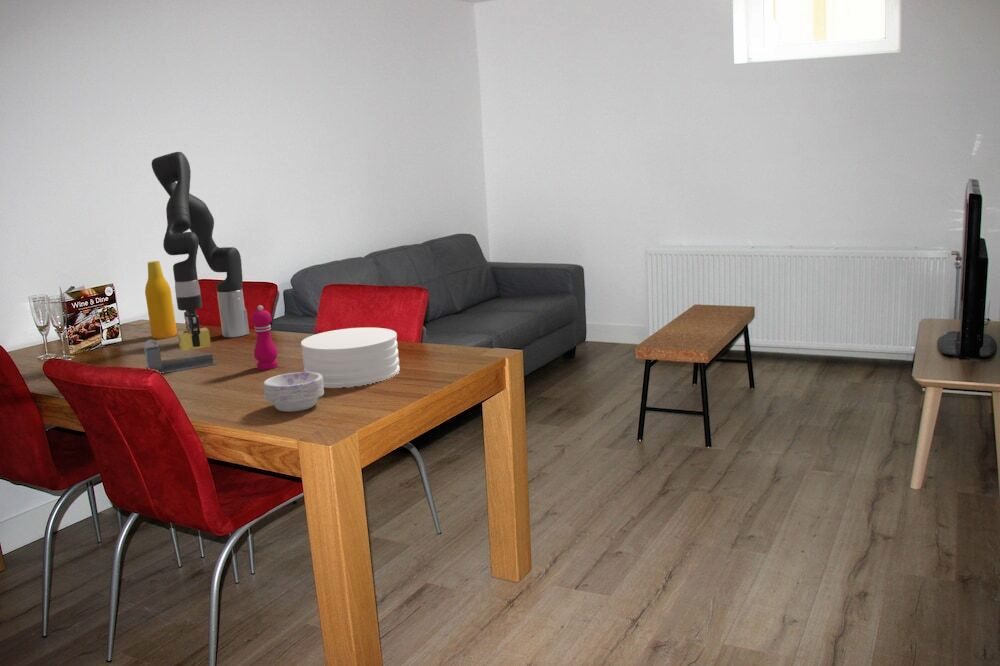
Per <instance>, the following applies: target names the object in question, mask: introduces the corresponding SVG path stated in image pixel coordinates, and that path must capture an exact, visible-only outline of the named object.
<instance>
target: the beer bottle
mask: <svg viewBox="0 0 1000 666" xmlns="http://www.w3.org/2000/svg"><path fill="white" fill-rule="evenodd" d="M144 293H145V294H144V295H145V299H146V301H145V302H146V306H147V312H148V318H149V319H148V320H149V327H150V334H151V337H152V339H154V340H156V339H158V340H159V339H169V338H173V337H175V336H176V335H177V336H178V330H177V323H176V317H175V310H174V304H173V296H172V290H171V287H170V284H169V283H168V281H167V280H166V277H165V276H164V274H163V270H162V265H161V261H159V260H151V261H147V282H146V284H145V290H144Z"/></svg>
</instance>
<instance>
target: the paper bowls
mask: <svg viewBox="0 0 1000 666" xmlns="http://www.w3.org/2000/svg"><path fill="white" fill-rule="evenodd" d="M323 386H324V385H323V377H322V375H321V374H318V373H314V372H304V371H300V372H299V371H298V372H289V373H282V374H278V375H275V376H271V377H269V378H267V379H265V380H264V381H263V391H264V398H265V399H264V400H265V401H266V402H267V403H270V404H272V405H273V406H274V408H275V409H276V410H278V411H280V412H286V413H293V412H295V413H296V412H301V411H305V410H309V409H310V408H313V407H314V406H315V405H316V404H317V402H318V400H319V398H322V397H323V395H324V394H325V389H324V387H323Z"/></svg>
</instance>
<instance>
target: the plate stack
mask: <svg viewBox="0 0 1000 666" xmlns="http://www.w3.org/2000/svg"><path fill="white" fill-rule="evenodd" d="M397 338H398V333H397V332H396V331H395V330H393V329H389V328H384V327H383V328H382V327H349V328H340V329H334V330H329V331H323V332H319V333H316V334H313V335H310V336H307V337H305V338H303V339H302V340H301V342H300V347H301V349H302V350H301V356H302V365H303V366H304V367H303V372H314V373H318V374H321V375H322V377H323V385H324V386H323V387H324V388H326V389H340V388H341V389H342V387H346V388H355V387H354V386H357V387H363V386H362V385H364V386H368V385H367V384H369V385H373V384H372V383H374V384H376V383H375V382H378V383H380V382H379V381H382V382H384V381H383V380H385V381H387V380H386V379H388V380H390V379H392V378H394V377H396V376H397V375H399V374H400V372H401V369H400V368H401V366H400V358H399V349H398V340H397ZM399 371H400V372H399ZM396 374H397V375H396ZM395 375H396V376H395ZM393 376H394V377H393ZM391 377H392V378H391ZM389 378H390V379H389Z"/></svg>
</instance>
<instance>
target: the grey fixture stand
mask: <svg viewBox="0 0 1000 666" xmlns="http://www.w3.org/2000/svg"><path fill="white" fill-rule="evenodd" d="M143 352H144V356H145V363H146V366H147V367H146V369H147V368H150V369H155V370H158V371H159V372H161V373H162V372H164V373H163V374H168V372H169V373H175V372H180V371H185V370H186V371H187V370H191V369H197V368H204V367H209V366H215V365H217V363H216V361H215V360H214V357H213V353H212V352H208V353H204V354H203V353H202V354H196V355H190V356H183V357H177V358H171V359H170V358H169V359H164V360H162V357H161V350H160V347H159V344H158V342H157V340H156V339H148V340H147V341H145V343H144V346H143ZM174 371H175V372H174ZM166 372H167V373H166Z"/></svg>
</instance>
